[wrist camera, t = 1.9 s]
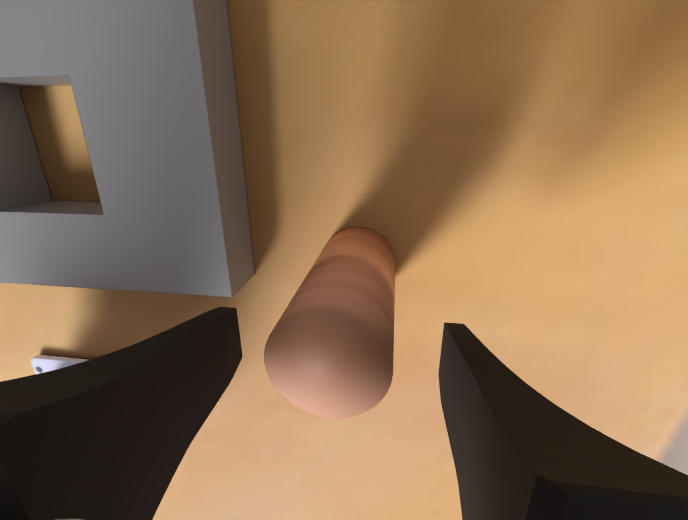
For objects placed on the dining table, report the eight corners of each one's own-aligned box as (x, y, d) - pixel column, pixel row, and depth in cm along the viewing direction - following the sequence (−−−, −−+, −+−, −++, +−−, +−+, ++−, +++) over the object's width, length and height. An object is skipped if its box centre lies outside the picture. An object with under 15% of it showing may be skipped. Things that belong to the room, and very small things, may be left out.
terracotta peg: (393, 297, 19) (390, 424, 11) (323, 293, 20) (269, 411, 12) (396, 228, 18) (396, 313, 10) (321, 225, 19) (258, 304, 10)
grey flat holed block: (254, 274, 20) (231, 297, 17) (-11, 259, 23) (-68, 278, 20) (224, -22, 15) (185, -55, 12) (-111, 1, 18) (-206, -23, 15)
